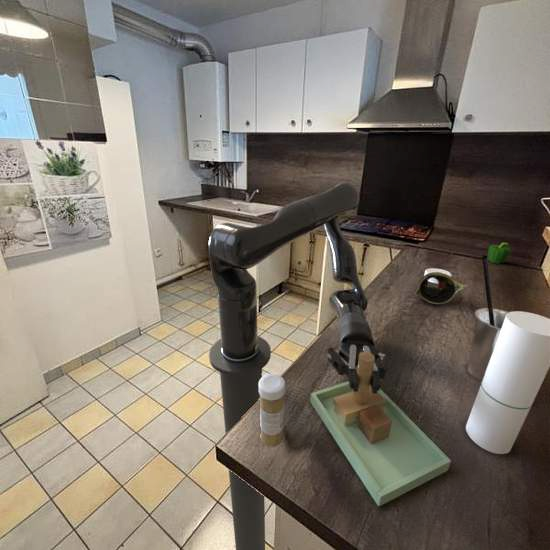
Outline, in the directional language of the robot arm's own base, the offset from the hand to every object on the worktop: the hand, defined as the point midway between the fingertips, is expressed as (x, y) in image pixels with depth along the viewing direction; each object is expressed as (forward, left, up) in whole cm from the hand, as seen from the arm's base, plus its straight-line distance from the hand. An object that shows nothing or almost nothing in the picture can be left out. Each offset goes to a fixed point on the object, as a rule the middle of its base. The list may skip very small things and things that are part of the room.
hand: (365, 388), depth 53 cm
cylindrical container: (+11, +21, -10) cm, 26 cm away
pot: (-34, +59, -10) cm, 69 cm away
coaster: (-46, +74, -10) cm, 88 cm away
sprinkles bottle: (-4, -17, -10) cm, 20 cm away
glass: (-1, +36, -10) cm, 38 cm away
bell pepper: (-51, +119, -10) cm, 130 cm away
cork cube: (+2, +1, -9) cm, 9 cm away
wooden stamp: (-3, +1, -9) cm, 9 cm away
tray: (+2, +1, -10) cm, 10 cm away
